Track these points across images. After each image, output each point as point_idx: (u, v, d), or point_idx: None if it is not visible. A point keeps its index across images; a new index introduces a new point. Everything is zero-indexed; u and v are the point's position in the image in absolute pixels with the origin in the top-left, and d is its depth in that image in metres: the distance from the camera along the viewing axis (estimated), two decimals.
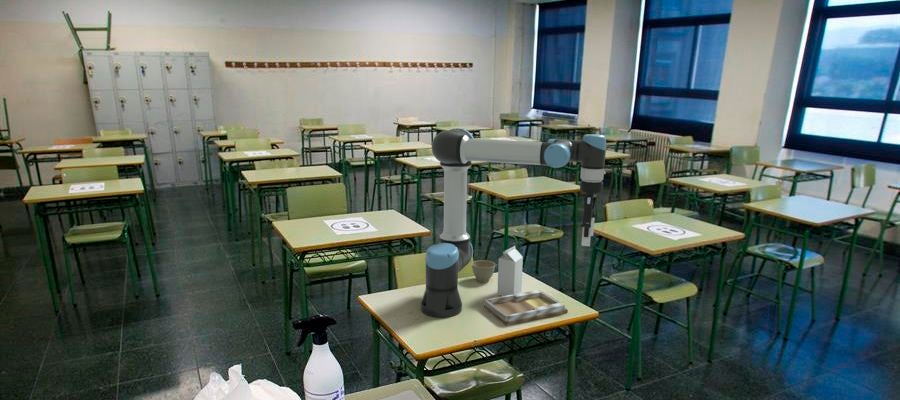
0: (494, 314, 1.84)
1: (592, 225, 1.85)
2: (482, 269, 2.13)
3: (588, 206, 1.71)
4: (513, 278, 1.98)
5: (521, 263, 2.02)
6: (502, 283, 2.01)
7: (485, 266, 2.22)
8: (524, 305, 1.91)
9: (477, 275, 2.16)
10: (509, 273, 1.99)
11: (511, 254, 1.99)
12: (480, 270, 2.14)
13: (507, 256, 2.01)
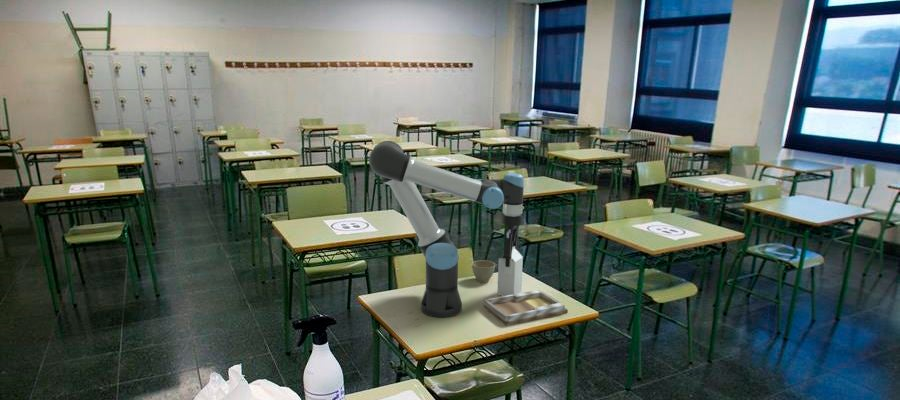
0: (494, 314, 1.84)
1: None
2: (482, 269, 2.13)
3: (507, 240, 1.93)
4: (513, 278, 1.98)
5: (521, 263, 2.02)
6: (502, 283, 2.01)
7: (485, 266, 2.22)
8: (524, 305, 1.91)
9: (477, 275, 2.16)
10: None
11: None
12: (480, 270, 2.14)
13: None
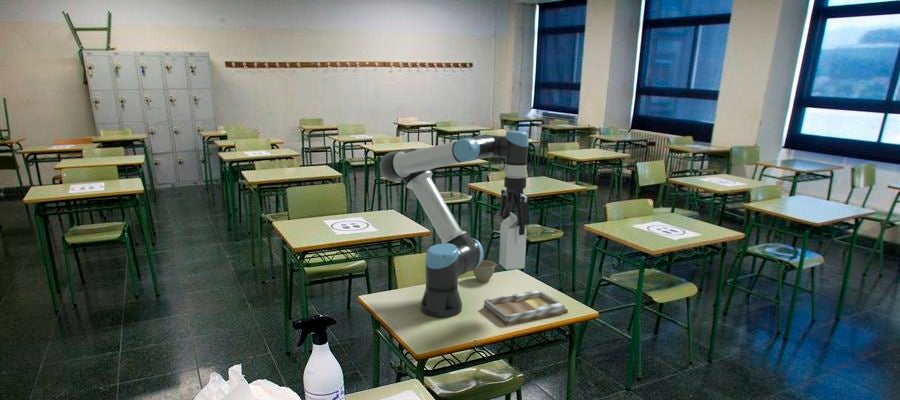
0: (494, 314, 1.84)
1: None
2: (482, 269, 2.13)
3: (525, 205, 1.74)
4: (524, 246, 1.80)
5: None
6: (512, 255, 1.80)
7: (485, 266, 2.22)
8: (524, 305, 1.91)
9: (477, 275, 2.16)
10: None
11: None
12: (480, 270, 2.14)
13: (512, 224, 1.80)
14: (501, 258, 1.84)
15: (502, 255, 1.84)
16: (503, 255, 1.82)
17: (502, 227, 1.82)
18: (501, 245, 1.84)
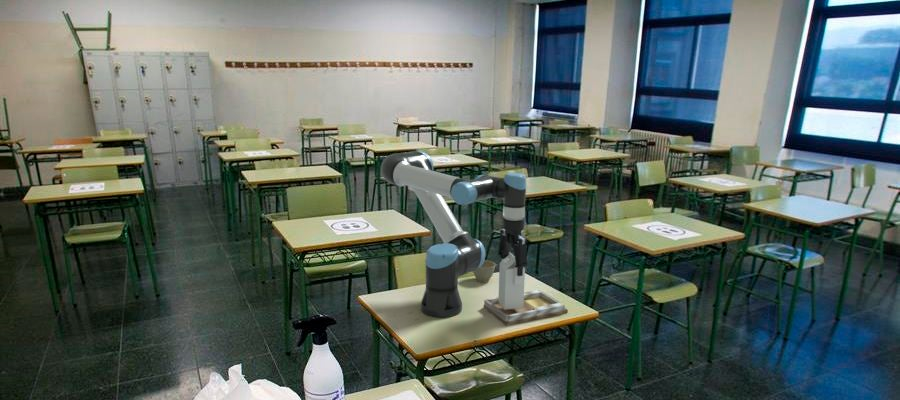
0: (494, 314, 1.84)
1: None
2: (482, 269, 2.13)
3: (523, 247, 1.75)
4: (523, 286, 1.82)
5: None
6: (510, 295, 1.81)
7: (485, 266, 2.22)
8: (524, 305, 1.91)
9: (477, 275, 2.16)
10: None
11: None
12: (480, 270, 2.14)
13: (511, 265, 1.81)
14: (500, 297, 1.86)
15: (501, 294, 1.85)
16: (502, 295, 1.84)
17: (501, 267, 1.84)
18: (500, 284, 1.86)
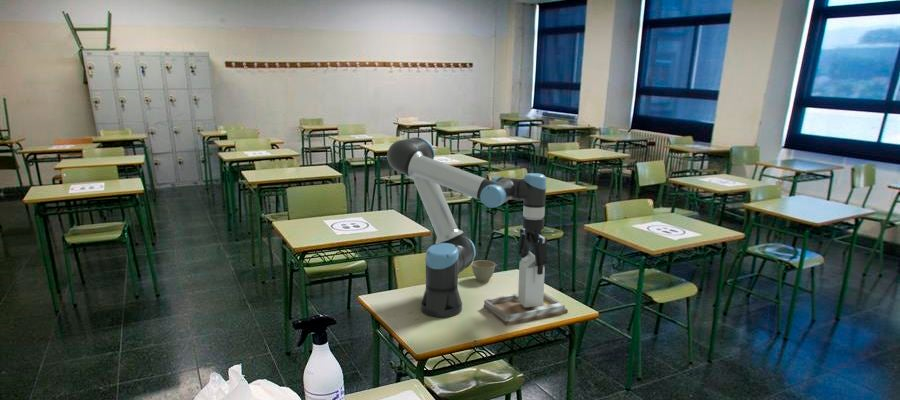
0: (494, 314, 1.84)
1: None
2: (482, 269, 2.13)
3: (543, 246, 1.79)
4: (543, 284, 1.85)
5: None
6: (530, 293, 1.85)
7: (485, 266, 2.22)
8: None
9: (477, 275, 2.16)
10: None
11: None
12: (480, 270, 2.14)
13: (531, 263, 1.85)
14: (520, 295, 1.89)
15: (520, 292, 1.89)
16: (522, 293, 1.87)
17: (521, 266, 1.87)
18: (520, 283, 1.89)
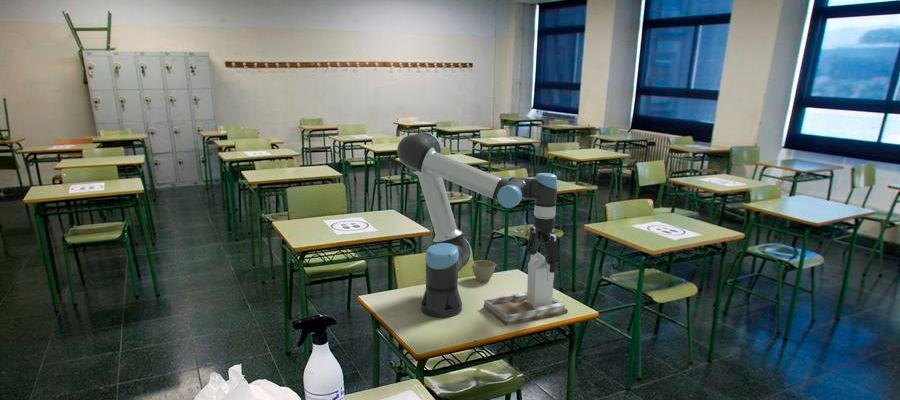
0: (494, 314, 1.84)
1: None
2: (482, 269, 2.13)
3: (555, 244, 1.81)
4: (552, 285, 1.88)
5: None
6: (540, 294, 1.87)
7: (485, 266, 2.22)
8: (524, 305, 1.91)
9: (477, 275, 2.16)
10: (547, 281, 1.87)
11: (545, 261, 1.87)
12: (480, 270, 2.14)
13: (540, 264, 1.87)
14: (529, 296, 1.92)
15: (530, 293, 1.91)
16: (531, 294, 1.89)
17: (530, 267, 1.90)
18: (529, 284, 1.91)
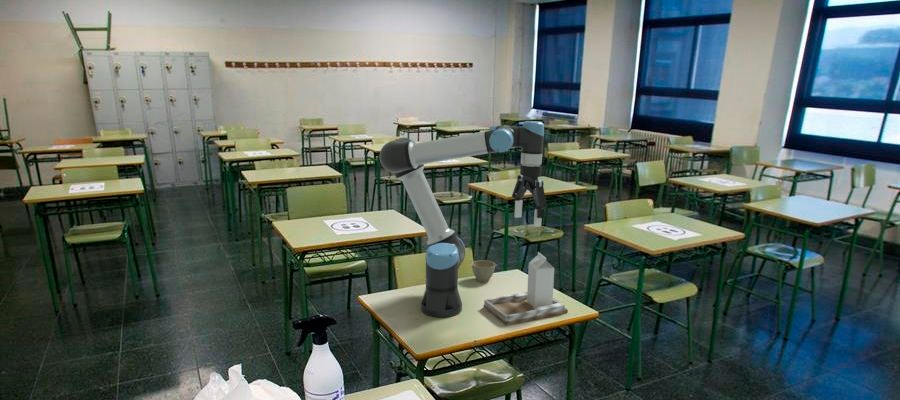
0: (494, 314, 1.84)
1: (521, 207, 1.96)
2: (482, 269, 2.13)
3: (541, 189, 1.82)
4: (552, 285, 1.88)
5: None
6: (540, 294, 1.87)
7: (485, 266, 2.22)
8: (524, 305, 1.91)
9: (477, 275, 2.16)
10: (548, 281, 1.87)
11: (546, 261, 1.87)
12: (480, 270, 2.14)
13: (541, 264, 1.87)
14: (529, 296, 1.92)
15: (530, 293, 1.91)
16: (532, 294, 1.90)
17: (530, 267, 1.90)
18: (529, 284, 1.91)
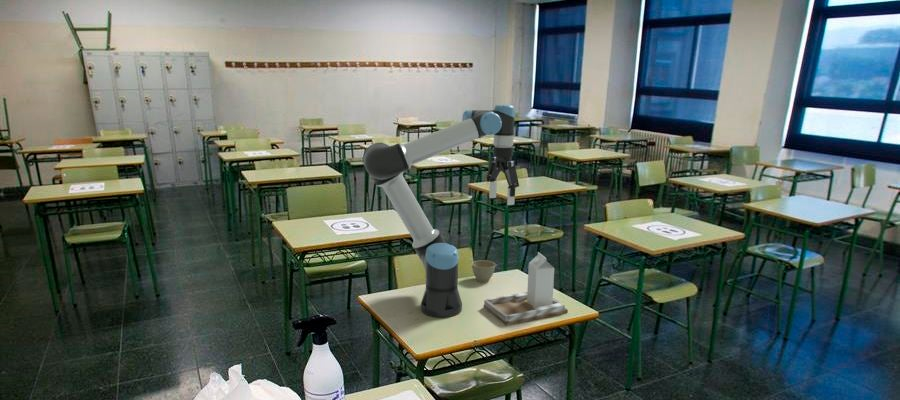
0: (494, 314, 1.84)
1: (495, 188, 2.06)
2: (482, 269, 2.13)
3: (513, 168, 1.91)
4: (552, 285, 1.88)
5: None
6: (540, 294, 1.87)
7: (485, 266, 2.22)
8: (524, 305, 1.91)
9: (477, 275, 2.16)
10: (548, 281, 1.87)
11: (546, 261, 1.87)
12: (480, 270, 2.14)
13: (541, 264, 1.87)
14: (529, 296, 1.92)
15: (530, 293, 1.91)
16: (532, 294, 1.90)
17: (530, 267, 1.90)
18: (529, 284, 1.91)
